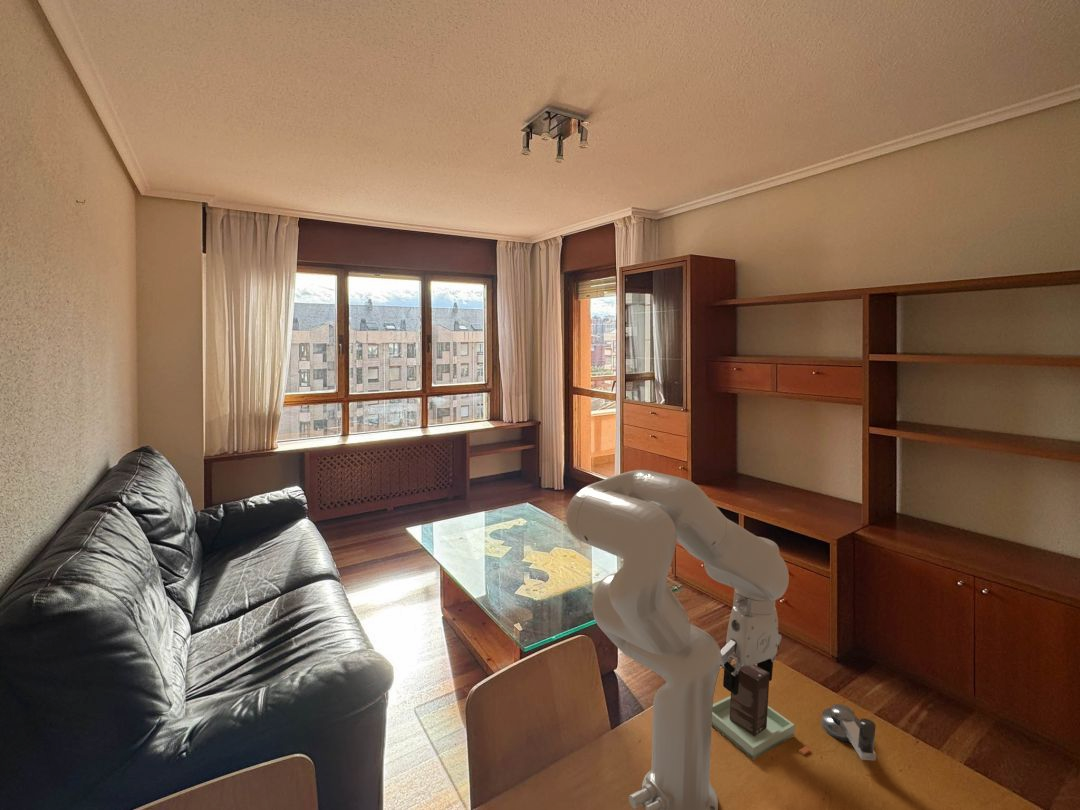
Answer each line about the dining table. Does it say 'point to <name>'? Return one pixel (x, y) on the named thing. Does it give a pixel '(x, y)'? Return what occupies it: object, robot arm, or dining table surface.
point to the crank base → (831, 729)
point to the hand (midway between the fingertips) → (747, 683)
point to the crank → (856, 731)
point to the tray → (745, 741)
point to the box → (751, 699)
